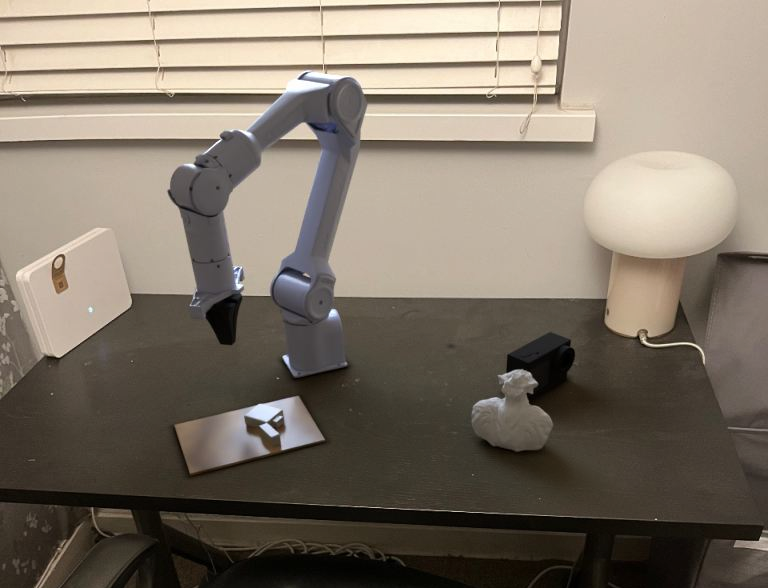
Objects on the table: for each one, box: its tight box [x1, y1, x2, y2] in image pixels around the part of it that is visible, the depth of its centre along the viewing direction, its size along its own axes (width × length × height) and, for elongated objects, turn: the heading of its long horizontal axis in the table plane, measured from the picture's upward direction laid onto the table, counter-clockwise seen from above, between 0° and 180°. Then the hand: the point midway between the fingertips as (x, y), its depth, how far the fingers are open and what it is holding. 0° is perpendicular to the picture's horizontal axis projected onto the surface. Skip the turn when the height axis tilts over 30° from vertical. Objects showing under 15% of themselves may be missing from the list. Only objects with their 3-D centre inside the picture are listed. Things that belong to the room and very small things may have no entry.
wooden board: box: [173, 395, 326, 477], centre depth 116 cm, size 20×14×1 cm
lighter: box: [244, 403, 284, 447], centre depth 115 cm, size 7×2×8 cm
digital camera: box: [505, 331, 576, 401], centre depth 120 cm, size 10×5×7 cm, turn 132°
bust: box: [470, 369, 554, 453], centre depth 109 cm, size 12×8×11 cm, turn 62°
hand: (227, 342), depth 118 cm, fingers closed
